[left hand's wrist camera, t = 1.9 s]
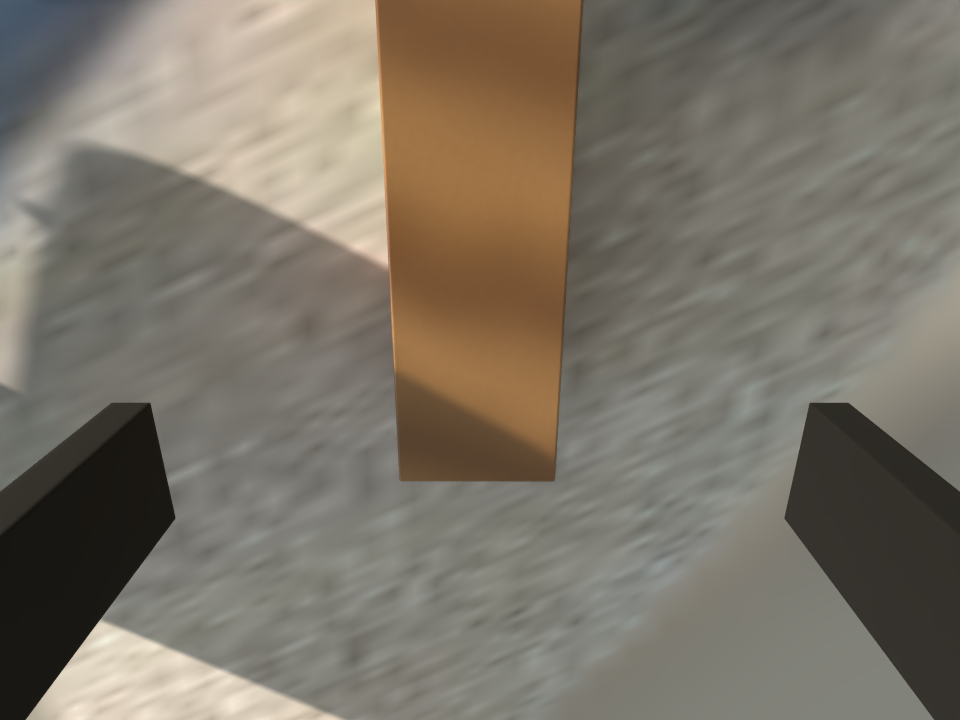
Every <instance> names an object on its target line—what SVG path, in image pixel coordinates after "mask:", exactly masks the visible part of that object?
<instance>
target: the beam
mask: <svg viewBox="0 0 960 720" xmlns="http://www.w3.org/2000/svg"><path fill="white" fill-rule="evenodd" d="M375 4H376V24H377V44H378V63H379V83H380V103H381V123H382V143H383V162H384V182H385V202H386V222H387V242H388V262H389V281H390V301H391V321H392V341H393V361H394V381H395V400H396V420H397V440H398V460H399V479H400V481H554V480H555V471H556V454H557V437H558V420H559V403H560V386H561V370H562V353H563V336H564V319H565V302H566V285H567V268H568V251H569V234H570V217H571V200H572V183H573V166H574V149H575V133H576V116H577V99H578V82H579V65H580V48H581V31H582V14H583V0H375Z"/></svg>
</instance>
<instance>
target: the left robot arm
mask: <svg viewBox="0 0 960 720" xmlns="http://www.w3.org/2000/svg"><path fill="white" fill-rule="evenodd" d="M174 520H175V514H174V509H173V505H172V500H171V495H170V491H169V486H168V482H167V477H166V473H165V468H164V463H163V459H162V454H161V450H160V445H159V441H158V436H157V432H156V427H155V422H154V418H153V413H152V409H151V404H150V403H111V404H110V405H108V406H107V407H106V408H105V409H103V410H102V411H101V412H100V413H98V414H97V415H96V416H95V417H93V418H92V419H91V420H90V421H88V422H87V423H86V424H85V425H83V426H82V427H81V428H80V429H78V430H77V431H76V432H75V433H73V434H72V435H71V436H70V437H68V438H67V439H66V440H65V441H63V442H62V443H61V444H60V445H58V446H57V447H56V448H55V449H53V450H52V451H51V452H50V453H48V454H47V455H46V456H45V457H43V458H42V459H41V460H40V461H38V462H37V463H36V464H34V465H33V466H32V467H31V468H29V469H28V470H27V471H26V472H24V473H23V474H22V475H21V476H19V477H18V478H17V479H16V480H14V481H13V482H12V483H11V484H9V485H8V486H7V487H6V488H4V489H3V490H2V491H1V492H0V720H26V718H27V717H28V716H29V714H30V713H31V712H32V710H33V709H34V708H35V706H36V705H37V704H38V702H39V701H40V700H41V698H42V697H43V696H44V694H45V693H46V692H47V690H48V689H49V688H50V686H51V685H52V684H53V682H54V681H55V680H56V678H57V677H58V675H59V674H60V673H61V671H62V670H63V669H64V667H65V666H66V665H67V663H68V662H69V661H70V659H71V658H72V657H73V655H74V654H75V653H76V651H77V650H78V649H79V647H80V646H81V645H82V643H83V642H84V641H85V639H86V638H87V637H88V635H89V634H90V632H91V631H92V630H93V628H94V627H95V626H96V624H97V623H98V622H99V620H100V619H101V618H102V616H103V615H104V614H105V612H106V611H107V610H108V608H109V607H110V606H111V604H112V603H113V602H114V600H115V599H116V598H117V596H118V595H119V594H120V592H121V591H122V589H123V588H124V587H125V585H126V584H127V583H128V581H129V580H130V579H131V577H132V576H133V575H134V573H135V572H136V571H137V569H138V568H139V567H140V565H141V564H142V563H143V561H144V560H145V559H146V557H147V556H148V555H149V553H150V552H151V551H152V549H153V548H154V546H155V545H156V544H157V542H158V541H159V540H160V538H161V537H162V536H163V534H164V533H165V532H166V530H167V529H168V528H169V526H170V525H171V524H172V522H173V521H174ZM785 520H786V521H787V522H788V524H789V525H790V526H791V528H792V529H793V530H794V532H795V533H796V534H797V536H798V537H799V538H800V540H801V541H802V542H803V544H804V545H805V546H806V548H807V549H808V551H809V552H810V553H811V555H812V556H813V557H814V559H815V560H816V561H817V563H818V564H819V565H820V567H821V568H822V569H823V571H824V572H825V573H826V575H827V576H828V577H829V579H830V580H831V581H832V583H833V584H834V585H835V587H836V588H837V589H838V591H839V592H840V593H841V595H842V596H843V598H844V599H845V600H846V602H847V603H848V604H849V606H850V607H851V608H852V610H853V611H854V612H855V614H856V615H857V616H858V618H859V619H860V620H861V622H862V623H863V624H864V626H865V627H866V628H867V630H868V631H869V632H870V634H871V635H872V636H873V638H874V639H875V640H876V642H877V643H878V645H879V646H880V647H881V649H882V650H883V651H884V652H885V654H886V655H887V657H888V658H889V659H890V661H891V662H892V663H893V665H894V666H895V667H896V669H897V670H898V671H899V673H900V674H901V675H902V677H903V678H904V680H905V681H906V682H907V683H908V685H909V686H910V688H911V689H912V690H913V692H914V693H915V694H916V696H917V697H918V698H919V700H920V701H921V702H922V704H923V705H924V706H925V708H926V709H927V710H928V712H929V713H930V714H931V716H932V717H933V718H934V720H960V492H959V491H958V490H957V489H956V488H954V487H953V486H952V485H951V484H949V483H948V482H947V481H945V480H944V479H943V478H942V477H941V476H939V475H938V474H937V473H935V472H934V471H933V470H932V469H931V468H929V467H928V466H927V465H926V464H924V463H923V462H922V461H920V460H919V459H918V458H917V457H915V456H914V455H913V454H912V453H910V452H909V451H908V450H907V449H905V448H904V447H903V446H902V445H900V444H899V443H898V442H897V441H895V440H894V439H893V438H892V437H890V436H889V435H888V434H887V433H885V432H884V431H883V430H882V429H880V428H879V427H878V426H877V425H875V424H874V423H873V422H872V421H870V420H869V419H868V418H867V417H865V416H864V415H863V414H862V413H860V412H859V411H858V410H857V409H855V408H854V407H853V406H852V405H850V404H849V403H810V404H809V409H808V413H807V418H806V422H805V427H804V432H803V436H802V441H801V445H800V450H799V454H798V459H797V463H796V468H795V473H794V477H793V482H792V486H791V491H790V496H789V500H788V505H787V509H786V514H785Z"/></svg>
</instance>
